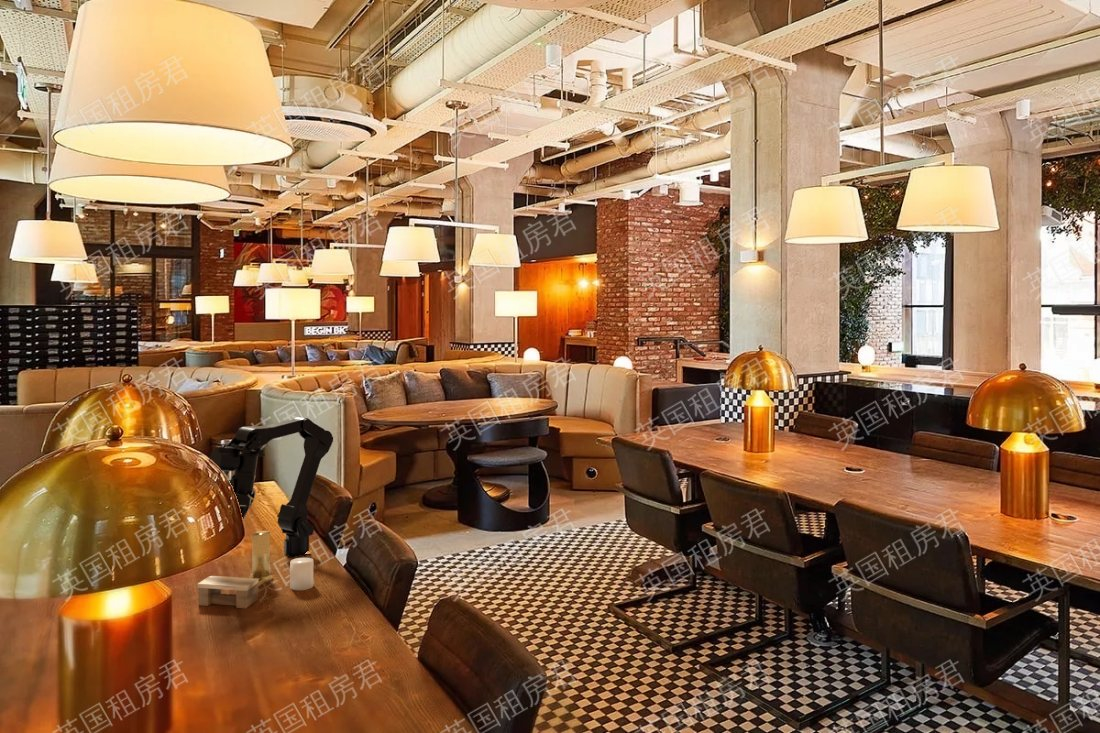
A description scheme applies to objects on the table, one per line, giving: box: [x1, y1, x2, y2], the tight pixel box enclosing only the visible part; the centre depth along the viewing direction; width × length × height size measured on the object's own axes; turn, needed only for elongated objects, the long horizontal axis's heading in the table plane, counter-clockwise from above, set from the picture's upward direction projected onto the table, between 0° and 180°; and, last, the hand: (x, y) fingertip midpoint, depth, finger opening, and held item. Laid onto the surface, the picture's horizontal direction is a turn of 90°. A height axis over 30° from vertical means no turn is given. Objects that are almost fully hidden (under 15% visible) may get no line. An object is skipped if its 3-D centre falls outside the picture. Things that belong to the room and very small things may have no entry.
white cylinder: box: [289, 557, 314, 591], centre depth 204 cm, size 6×6×7 cm
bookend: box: [249, 530, 274, 587], centre depth 205 cm, size 12×6×13 cm, turn 174°
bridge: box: [197, 575, 259, 609], centre depth 191 cm, size 6×13×6 cm, turn 84°
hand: (237, 526), depth 213 cm, fingers open, 9 cm apart
